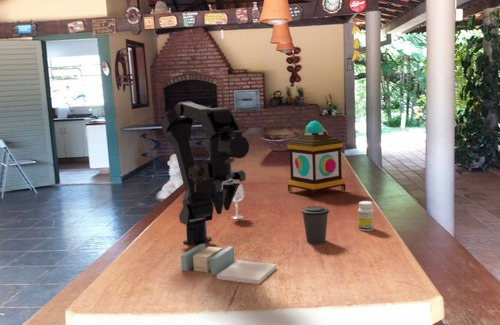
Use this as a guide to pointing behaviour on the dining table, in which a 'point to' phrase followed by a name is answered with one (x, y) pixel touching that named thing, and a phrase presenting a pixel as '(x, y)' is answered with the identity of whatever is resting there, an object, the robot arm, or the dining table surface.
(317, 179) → the decorative lantern
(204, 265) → the maple block
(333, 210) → the dining table surface
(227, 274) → the ceramic tile
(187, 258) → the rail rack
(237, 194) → the wineglass
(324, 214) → the coffee cup
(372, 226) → the supplement bottle
